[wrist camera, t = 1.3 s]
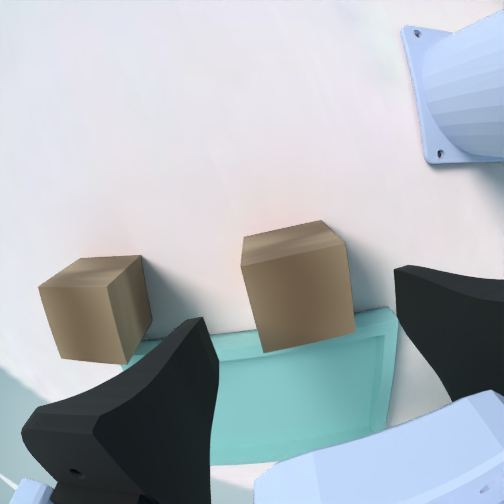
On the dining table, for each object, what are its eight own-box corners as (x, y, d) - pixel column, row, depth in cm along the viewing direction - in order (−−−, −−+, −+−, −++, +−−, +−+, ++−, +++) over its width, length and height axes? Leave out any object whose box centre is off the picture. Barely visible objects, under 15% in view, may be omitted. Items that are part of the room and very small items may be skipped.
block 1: (141, 254, 16) (106, 286, 12) (152, 320, 17) (127, 365, 13) (80, 257, 16) (38, 286, 12) (95, 318, 18) (61, 358, 13)
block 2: (320, 219, 16) (345, 242, 11) (332, 290, 17) (355, 332, 12) (243, 236, 16) (240, 266, 12) (261, 306, 17) (263, 353, 13)
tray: (388, 306, 17) (398, 318, 15) (376, 426, 20) (382, 440, 19) (125, 341, 18) (117, 356, 16) (176, 450, 21) (172, 465, 19)
